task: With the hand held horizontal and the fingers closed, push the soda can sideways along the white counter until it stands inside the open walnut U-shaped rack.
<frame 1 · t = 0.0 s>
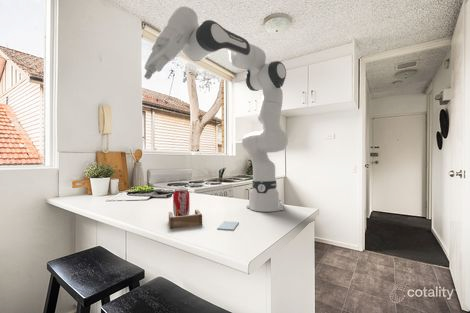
hand: (151, 74, 75), 54 cm above the worktop, tool tilted 30°, fingers open, 8 cm apart
slate card: (228, 227, 85), on the worktop
can rack: (184, 222, 90), on the worktop
soda can: (181, 216, 100), on the worktop
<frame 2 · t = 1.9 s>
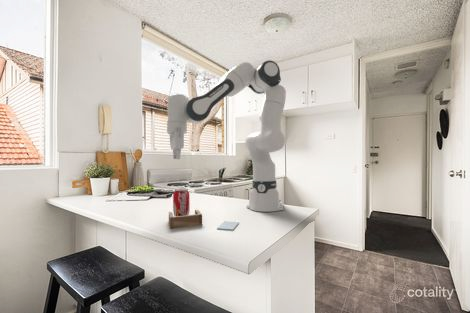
hand: (176, 159, 104), 25 cm above the worktop, tool pointing down, fingers open, 8 cm apart
nothing on the worktop moved.
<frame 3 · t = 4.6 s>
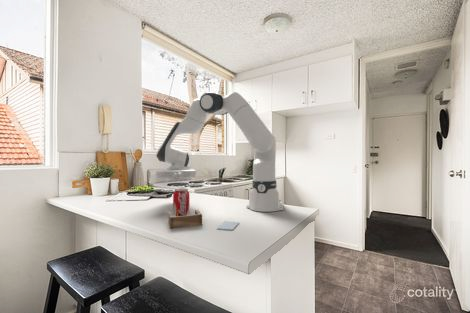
hand: (178, 175, 112), 17 cm above the worktop, tool horizontal, fingers closed
nothing on the worktop moved.
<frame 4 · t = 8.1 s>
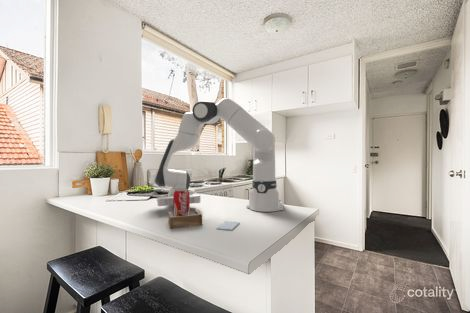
hand: (180, 202, 102), 5 cm above the worktop, tool horizontal, fingers closed
soda can: (181, 217, 99), on the worktop, touching gripper
everything else where it was.
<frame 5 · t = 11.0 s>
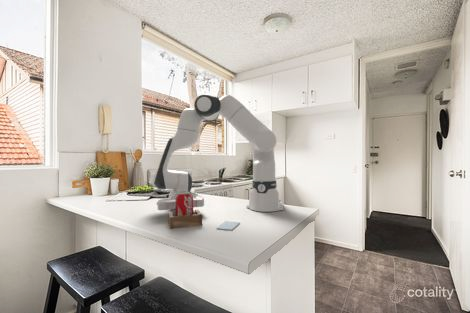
hand: (183, 206, 94), 6 cm above the worktop, tool horizontal, fingers closed
soda can: (184, 222, 91), on the worktop
everything else where it was.
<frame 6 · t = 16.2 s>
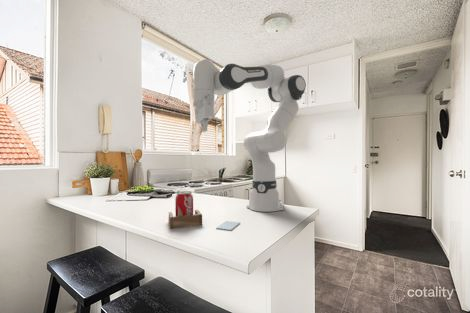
hand: (204, 131, 96), 37 cm above the worktop, tool pointing down, fingers closed
nothing on the worktop moved.
at the end: soda can 1.6 cm from the can rack (horizontally); soda can tilted 0° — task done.
